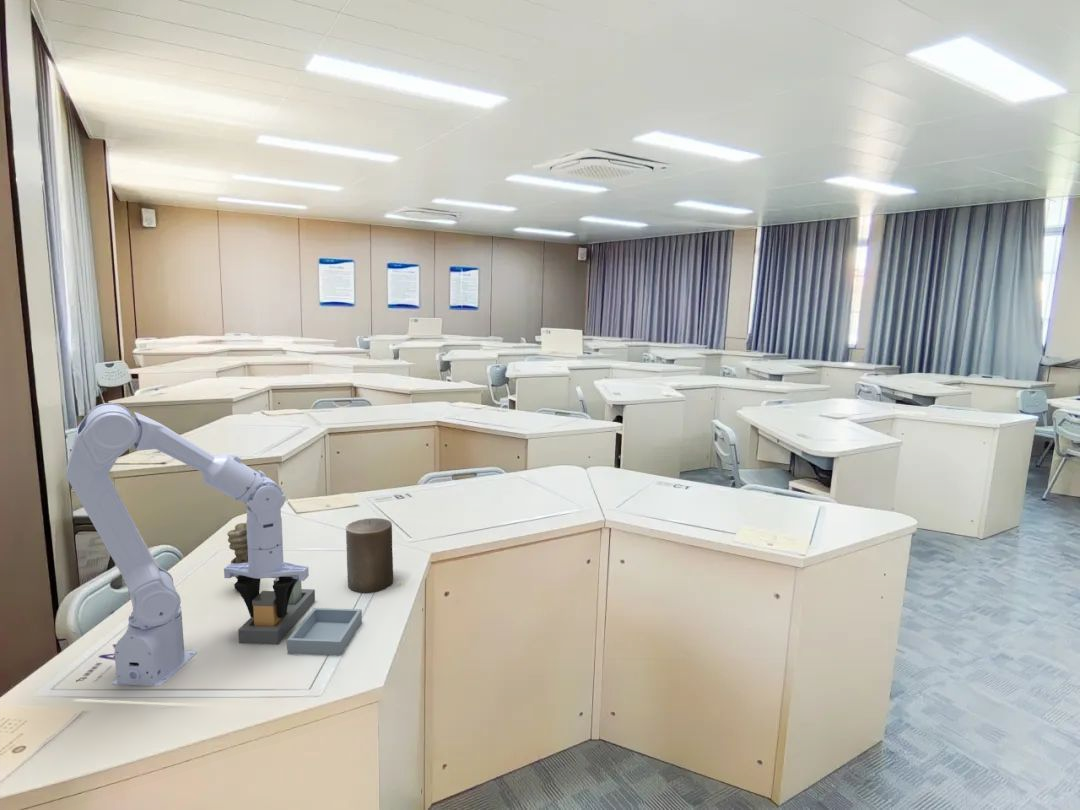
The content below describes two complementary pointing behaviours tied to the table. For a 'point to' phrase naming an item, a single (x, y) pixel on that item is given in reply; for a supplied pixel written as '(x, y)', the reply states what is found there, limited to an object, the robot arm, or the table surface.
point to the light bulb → (239, 543)
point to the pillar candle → (369, 555)
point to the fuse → (294, 592)
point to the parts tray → (325, 631)
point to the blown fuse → (265, 609)
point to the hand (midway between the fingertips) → (268, 614)
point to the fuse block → (276, 634)
